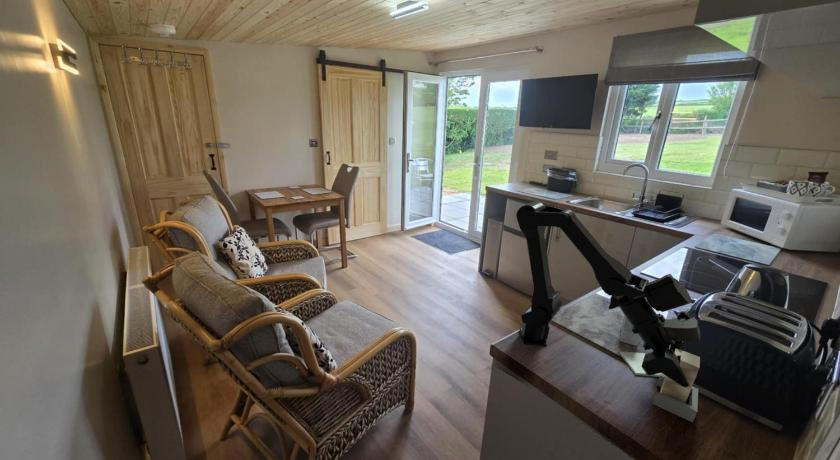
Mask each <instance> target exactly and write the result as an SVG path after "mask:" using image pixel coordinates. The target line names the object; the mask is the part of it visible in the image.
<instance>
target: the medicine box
mask: <svg viewBox="0 0 840 460" xmlns="http://www.w3.org/2000/svg"><path fill="white" fill-rule="evenodd" d="M632 328H633V326H632V324H631V323H630V322H629V320H628V319H627V317H626V316H625V314H624V316H623V320H622V322H621V327H620V338H619V341H620V342H623V343H625V344H629V345H632V346H634V347H637V346H638V345H639V344H638V343H639V340H640V339H641V337H640V336H639V335H638V333H636V334H634V333H633V331H632Z"/></svg>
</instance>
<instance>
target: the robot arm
mask: <svg viewBox="0 0 840 460" xmlns="http://www.w3.org/2000/svg"><path fill="white" fill-rule="evenodd" d="M515 216H516V221H517V224H518V227H519V230H520V232H521V233H522V235H523V236H524V237H525V240H526V245H527V252H528V258H529V266H530V271H531V279H532V285H533V292H532V296H531V302H530V306H529V307H528V308H527V309H526V310H525V311H524V312H523V313H522V314H521V321H522V324H521V328H519V330H520V331H519V330H518V331H519V334H520V337H521V339H522V341H523V344H525V345H537V346H538V345H539V346H547V345H548V342H547V340H548V338H549V333H550V329H551V327H550V325H549V324H550V322H551V321H552V320H553V319H554V317H555V316H557V314H558V312H560V310H561V307H562V306H563V305H564V304H563V301H562V298H561V295H562V293H561V292H562V291H561V290H555V288H554V286H553V285H552V278H551V274H550V273H551V272H550V267H549V260H548V252H547V245H546V239H545V233H546V228H547V227H552V228H553V227H555V228H560V230H561V231H562V232H563V233H564V234H565V236H566V237H567V238H568V240H570V242H571V243H572V244H573V245H574V247H575V248H576V249H577V250H578V251H579V253H580V254H581V255H582V256H583V258H584V260H586V261H587V263H588V264H589V265H590V267H591V268H592V270H593V274H594V277H595V279H596V281H597V283H598V284H599V286H600V288H601V289H602V291H603V293H605V294H606V295H608V296H611V297H610V299H609V300H610V303H609V306H608V309H609V310H613V309H616V308H618V307H619V309H620V310H621V312H622V313H623V314H624V315H625V316H626V317H627V319H628V320H629V322H630V323H631V324H632V326H633V328H632V331H633V333H634V334H636V333H638V335H639V336H640V339H641V341H642V342H643V345H642V347H643V349H644V350H645V351H648V350H651V351H652V352H648V353H645V356H644V359H643V363H642V366H641V367H642V368H643V370H644V371H645V373H646V374H647V375H654V374H658V373H662V374H664V375H666V376H667V377H669V378H670V379H672V380H673V381H675V382H677V383H678V384H680V385H681V386H683V387H689V384H688V382H687V379H686V378H685V376H684V374H683V372H682V370H681V368H680V366H679V364H680V360H681V355H679V356H676V354H675V353H674V351H675V348H677V349H679V350H682V346H683V343H684V342H691V343H698V342H701V330H700V328H699V327H700V326H699V321H698V320H697V319H696V317H694V316H692V315H691V314H690V313H689V312H688V311H686V310H681V311H680V310H679V311H678V313H677V316H676V317H673V316H672V318H671V319H670V318H667V319H666V318H665V316H664V315H663V314H661V313H663V312H664V313H665V312H668V311H670V310H674V309H677V308H680V307H684V306H687V305H690V304H692V301H693V300H692V298H691V296H690V294H689V291H688V290H687V288H686V287H685V285H684V284H683V283H681V282H680V281H679V280H678V279H677V278H675V277H674V276H673V275H672V273H667V274H666V275H663V276H661V277H660V278H657V279H655V280H652V281H650V280H648V279H646V278H644V277H642V276H639V275H637V274H635V273H632V271H631V270H630V269H629V268H628V267H626V266H625V265H624V264H623V263H622V262H621V261H619V260H617V259H616V258H614V257H612V256H611V255H610V254H609V253H608V252H606V250H605V249H604V248H603V247H602V246H601V244H600V243H599V242H598V241H597V240H596V239H595V237H594V236H593V234H591V232H590V231H589V230H588V228H587V227H585V225H584V224H583V223H582V221H580V220H579V217H577V216H576V213H575V212H574V211H573V210H571V209H563V208H559V207H556V206H552V205H545V204H544V203H542V202H540V201H531V202H529V203H527V204H524V205H522V206H520V207H519V208H518V210H517V211H516V215H515ZM656 312H661V313H656ZM521 329H522V330H521Z"/></svg>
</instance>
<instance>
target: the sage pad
mask: <svg viewBox="0 0 840 460" xmlns="http://www.w3.org/2000/svg"><path fill="white" fill-rule="evenodd" d="M645 354H646V352H645V353H643V352H630V351H629V352H628V351H619V355H620V356H621V357H622V359H623V360H624V361H625V363H626V365H627V366H628V367H629V369H631V371H632V373H634V375H635V376H644V377H645V376H647V377H660V374H662V373H658V374H654V375H647V374H646V373H645V371H644V370H643V368H642V367H641V366H642V363H643V359H644V356H645Z"/></svg>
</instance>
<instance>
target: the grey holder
mask: <svg viewBox="0 0 840 460" xmlns="http://www.w3.org/2000/svg"><path fill="white" fill-rule="evenodd" d="M665 376H666V375H664V374H660V377H659V378H658V381H657V384H656V386H658V387H659V388H661V387H662V384H663V381H664V379H665ZM687 401H688V403H683V402H681V401H679V400H676V399H674V398H672V397H670V396H667V395H665V394H663V393H661V392H660V391H658V390H657V392H656V394H655V397H654V400H653V405H654V406H657V407H659V408H660V409H663V410H664V411H668V412H670V413H672V414H673V415H676V416H678V417H680V418H683V419H684V420H686V421H689V422H690V423H694V420H695V419H696V416H697V414H698V404H699V388H697V387H694V385H692V388H691V390H690V393H689V395H688V398H687Z"/></svg>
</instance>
